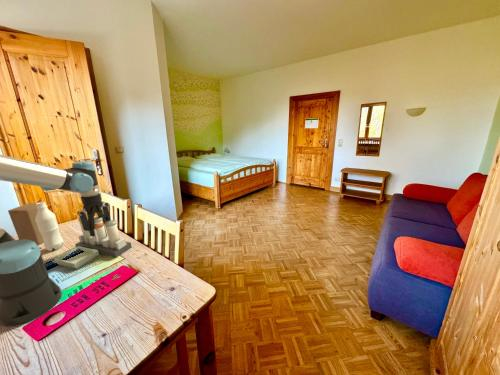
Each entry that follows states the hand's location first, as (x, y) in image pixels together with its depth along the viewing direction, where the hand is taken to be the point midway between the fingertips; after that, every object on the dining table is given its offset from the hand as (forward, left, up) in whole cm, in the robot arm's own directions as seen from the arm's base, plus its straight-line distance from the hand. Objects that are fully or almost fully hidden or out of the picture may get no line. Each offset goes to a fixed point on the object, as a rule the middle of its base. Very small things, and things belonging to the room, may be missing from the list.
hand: (101, 238), depth 102 cm
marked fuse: (0, 0, -2) cm, 2 cm away
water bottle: (-6, +25, -6) cm, 27 cm away
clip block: (0, 0, -6) cm, 6 cm away
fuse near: (0, -9, -3) cm, 9 cm away
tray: (-10, +3, -6) cm, 12 cm away
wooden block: (-3, +43, -6) cm, 44 cm away
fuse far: (0, +8, -3) cm, 9 cm away
